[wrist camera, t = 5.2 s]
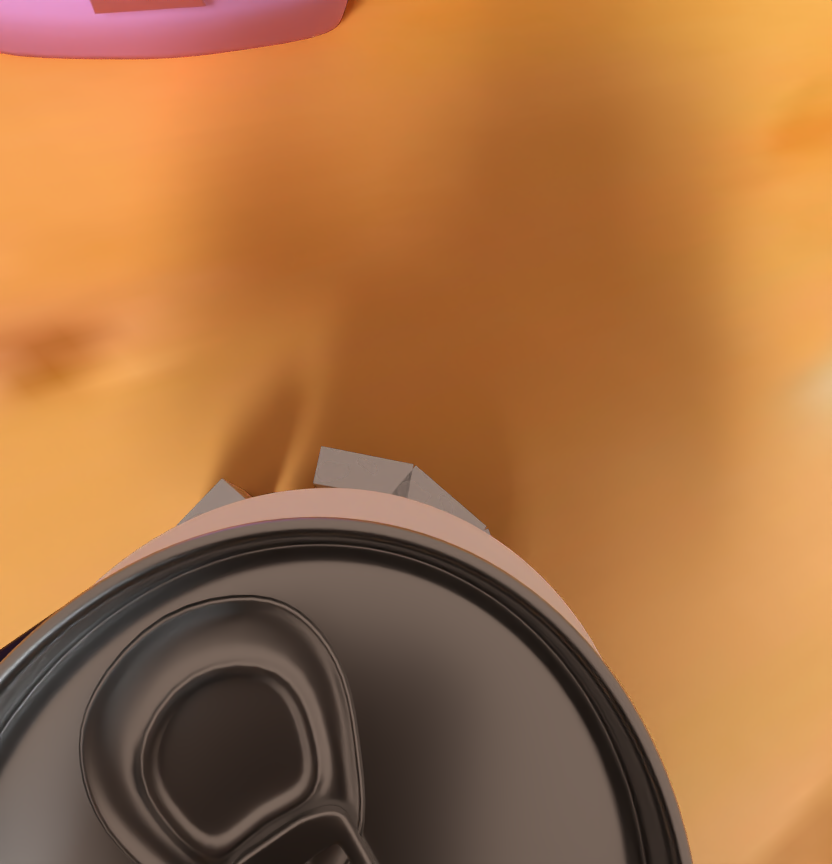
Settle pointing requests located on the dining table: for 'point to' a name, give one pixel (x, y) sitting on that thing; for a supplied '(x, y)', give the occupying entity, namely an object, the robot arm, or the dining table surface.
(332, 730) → the can
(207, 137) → the dining table surface
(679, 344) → the dining table surface
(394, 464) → the holder
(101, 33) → the teakettle
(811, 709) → the dining table surface
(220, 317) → the dining table surface
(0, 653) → the robot arm
